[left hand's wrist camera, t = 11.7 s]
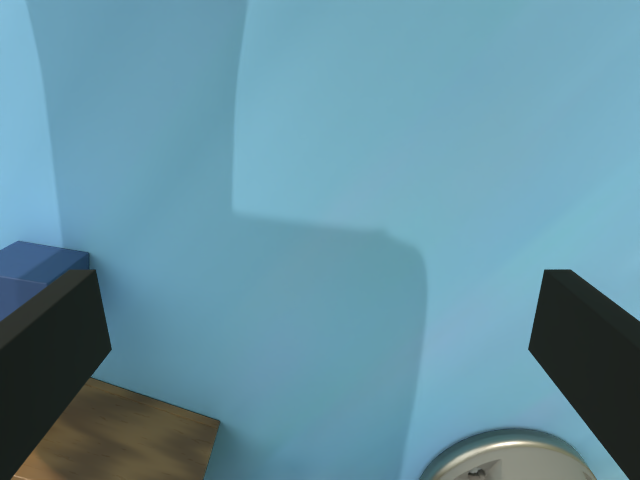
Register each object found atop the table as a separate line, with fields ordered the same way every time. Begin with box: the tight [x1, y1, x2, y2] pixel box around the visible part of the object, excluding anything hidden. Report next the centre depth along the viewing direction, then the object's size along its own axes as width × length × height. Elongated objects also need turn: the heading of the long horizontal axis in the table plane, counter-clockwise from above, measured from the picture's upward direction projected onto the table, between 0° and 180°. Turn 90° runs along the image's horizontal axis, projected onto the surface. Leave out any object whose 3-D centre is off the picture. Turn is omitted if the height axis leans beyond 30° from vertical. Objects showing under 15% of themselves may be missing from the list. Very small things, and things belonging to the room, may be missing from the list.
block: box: [0, 241, 89, 321], centre depth 28 cm, size 5×5×5 cm
